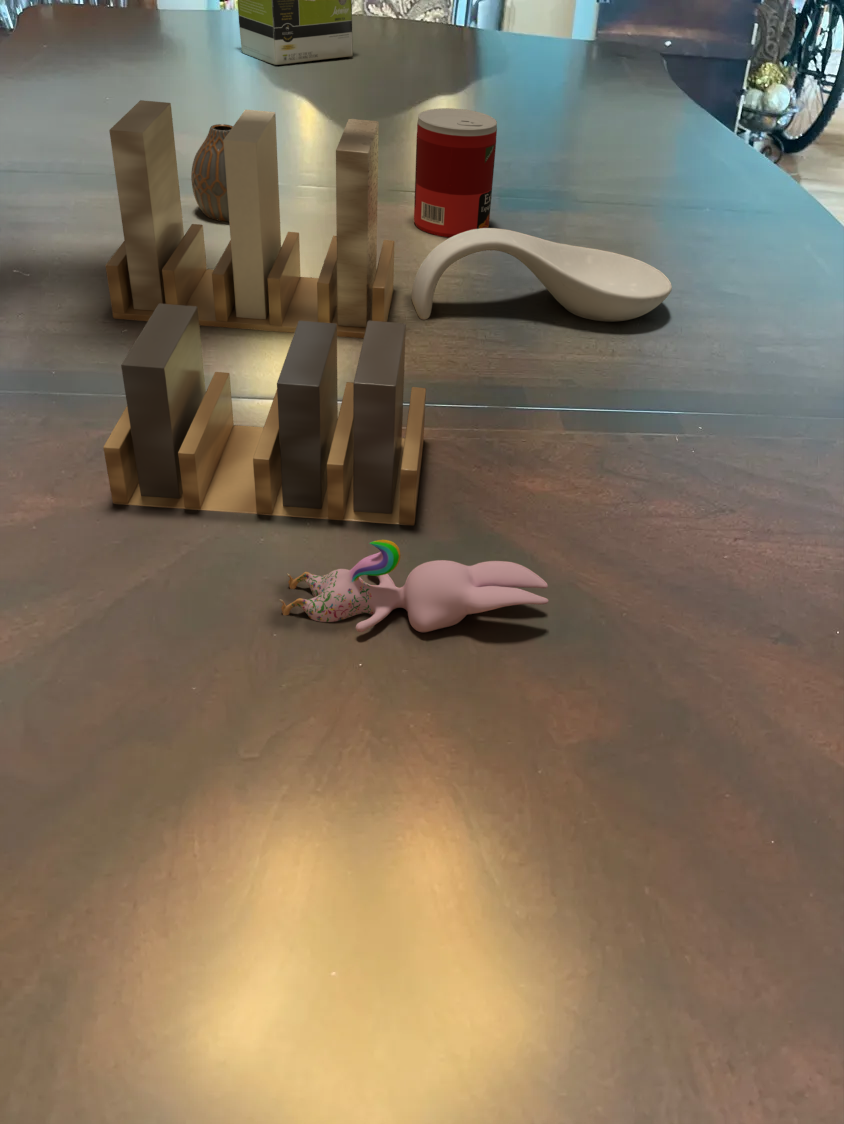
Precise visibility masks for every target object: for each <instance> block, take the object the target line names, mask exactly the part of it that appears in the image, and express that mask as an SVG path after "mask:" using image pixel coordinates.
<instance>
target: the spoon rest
mask: <svg viewBox="0 0 844 1124" xmlns="http://www.w3.org/2000/svg"><path fill="white" fill-rule="evenodd" d="M484 251H485V252H486V251H496V252H501V253H504V254H507V255H510V256H512V257H513V258H515V259H517V260H518V261H519V262H521V263H522V264H523V265H524V266H525V267H527V269H528V270H529V271H530V272H531V273H532V274H533V275H534V276H535V277H536V278H537V280H538V281H539V282H540V283H541V284H542V285H543V286H544V287H545V288H546V290H547V292H549V294H551V296H552V297H553V298H554V299H555V301H557V302H558V303H559V304H560V305H561V307H563V308H564V309H565V310H566V311H568V312H569V313H570V314H573V315H574V316H576V317H579V318H583V319H587V320H590V321H591V320H592V321H598V322H606V323H608V322H609V323H610V322H613V323H614V322H623V321H624V322H625V321H629V320H633V319H637V318H639V317H642V316H645V315H646V314H648V313H650V312H651V311H653V310H654V309H656V308H657V307H658V306H660V305H661V304H662V303H663V302H664V301H665V300H666V299H667V298H668V297H669V295H670V294H671V293H672V290H673V286H672V283H671V281H670V279H669V278H668V277H667V276H666V275H665V273H664V272H662V271H661V270H659V269H658V268H656V267H655V266H653V265H650V264H649V263H647V262H644V261H642V260H640V259H637V258H634V257H632V256H628V255H624V254H620V253H617V252H612V251H608V250H603V249H597V248H591V247H584V246H577V245H571V244H566V243H561V242H560V243H559V242H555V241H552V240H548V239H543V238H540V237H537V236H534V235H530V234H526V233H523V232H518V231H514V230H510V229H505V228H498V227H497V228H496V227H488V228H480V229H473V230H469V231H465V232H462V233H460V234H457V235H455V236H453V237H447V239H445V240H444V241H441V242H440V243H439V244H437V245H436V246H435V247H434V248H433V249H432V250H431V251H430V252H429V253H428V254H427V255H426V256H425V258H424V260H423V261H422V262H421V264H420V266H419V267H418V269H417V271H416V274H415V276H414V280H413V283H412V289H411V297H410V299H411V303H412V305H413V307H414V310H415V313H416V315H417V316H418V318H419V319H420V320H423V321H424V320H428V319H429V318H430V316H431V313H432V309H433V300H434V296H435V291H436V288H437V284H438V282H439V281H440V279H441V277H442V275H443V274H444V272H446V270H447V269H448V268H449V267H450V266H451V265H453V264H454V263H456V262H457V261H459V260H461V259H462V258H464V257H467V256H469V255H473V254H476V253H479V252H484Z"/></svg>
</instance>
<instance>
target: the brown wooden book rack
mask: <svg viewBox="0 0 844 1124" xmlns="http://www.w3.org/2000/svg"><path fill="white" fill-rule="evenodd" d="M406 326H407V324H406V322H393V321H387V322H382V321H368V322H367V326H366V331H365V335H364V338H362V339H363V340H362V344H361V347H360V348H361V349H360V353H359V358H358V361H357V366H356V370H355V375H354V379H353V381H346V382H345V387H344V391H343V395H342V398H341V403H340V407H339V406H338V404H339V403H338V397H339V396H338V336H337V324H335V323H322V322H310V321H299V322H298V324H297V327H296V330H295V333H293V336H292V339H291V342H290V344H289V347H288V350H287V353H286V356H285V358H284V362H283V364H282V366H281V367H282V368H281V370H280V373H279V375H278V379H277V382H276V390H275V394H274V396H273V398H272V399H273V400H272V402H271V405H270V408H269V411H268V414H267V416H266V419H265V422H264V425H263V426H251V425H250V426H249V425H238V424H237V425H235V424H234V422H235V421H234V411H233V398H232V397H233V396H232V387H231V374H230V372H224V371H223V372H222V371H214V373H213V376H212V377H211V380H210V382H209V384H208V386H207V388H206V381H205V379H206V378H205V371H204V360H203V350H202V349H203V348H202V340H201V328H200V325H199V317H198V307H197V306H185V305H172V304H160V303H159V304H158V306H157V307H156V309H155V311H154V312H153V314H152V316H151V317H150V319H149V320H148V321H146V323H145V325H144V327H143V328H142V329H141V331H140V333H139V335H138V336H137V338H136V339H135V341H134V343H133V344H132V346H131V348H130V350H129V351H128V353H127V354H126V356H125V357H124V359H123V360H122V363H121V364H120V367H121V373H122V380H123V386H124V394H125V400H126V407H125V408H124V410H123V412H122V413H121V415H120V416H119V419H118V420H117V423H116V424H115V426H114V427H113V429H112V431H111V433H110V435H109V436H108V438H107V440H106V441H105V443H104V445H103V447H102V448H103V453H104V458H105V459H104V460H105V467H106V471H107V476H108V477H107V478H108V483H109V489H110V495H111V500H112V504H114V505H125V506H126V505H127V506H139V507H140V506H141V507H151V508H153V507H154V508H166V509H167V508H168V509H179V510H181V509H182V510H184V509H185V510H195V511H197V510H198V511H209V512H210V511H211V512H222V513H235V514H236V513H237V514H249V515H250V514H251V515H265V516H276V517H278V516H279V517H293V518H307V519H318V520H319V519H321V520H331V521H332V520H333V521H334V520H335V521H348V522H360V523H361V522H362V523H373V524H375V523H376V524H387V525H401V526H415V523H416V514H417V505H418V495H419V487H420V478H421V477H420V475H421V467H422V460H423V459H422V458H423V449H424V448H423V447H424V439H425V438H424V437H425V418H426V402H427V401H426V399H427V398H426V397H427V388H426V387H416V386H412V387H411V388H410V389H411V390H410V398H409V403H408V404H409V405H408V412H407V420H406V426H405V433H404V434H405V435H404V437H403V420H404V418H403V416H404V391H405V389H404V388H405V364H406V363H405V360H406V336H407V335H406V331H407V330H406V329H407V327H406ZM338 407H339V408H338ZM338 409H339V410H338Z"/></svg>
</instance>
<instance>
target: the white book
mask: <svg viewBox="0 0 844 1124" xmlns="http://www.w3.org/2000/svg"><path fill="white" fill-rule="evenodd" d="M232 126H233V127H232V129H231V130H230V132H229V133H228V134H227V136H226V137H225V139H224V140H223V142H224V156H225V169H226V183H227V197H228V210H229V221H228V222H229V235H230V236H229V237H230V240H231V251H232V265H233V279H234V292H235V306H236V317H239V318H251V319H264V320H266V318H267V316H268V313H269V298H268V276H269V274H270V272H271V269H272V267H273V265H274V263H275V260H276V258H277V256H278V254H279V251H280V249H281V247H282V233H281V211H280V210H281V209H280V185H279V167H278V166H279V162H278V142H277V141H278V140H277V138H278V137H277V117H276V111H268V110H256V109H244V110H243V112H242V113H241V114H240V116H239V118H237V120H236V122H235V123H234V124H233V125H232Z"/></svg>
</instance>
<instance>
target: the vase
mask: <svg viewBox="0 0 844 1124" xmlns="http://www.w3.org/2000/svg"><path fill="white" fill-rule="evenodd" d="M233 126H234V125H231V124H226V123H218V124H217V123H216V124H212V125H211V126H210V127H209V130H208V133H207V135H206V137H205V139H204V141H203V142H202V143H201V145H200V147H199V148H198V150H197V152H196V153H195V156H194V158H193V161H192V164H191V165H192V166H191V171H190V178H191V187H192V188H191V189H192V194H193V197H194V199H195V201H196V204H197V206H198V208H199V209H200V211H201V212H202V213H203V214H204V216H206V217H208V218H209V219H212V220H214V221H220V222H229V210H228V197H227V183H226V169H225V156H224V142H223V140H224V139H225V137H226V136H227V134H228V133H229V132H230V130H231V129H232V127H233Z"/></svg>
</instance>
